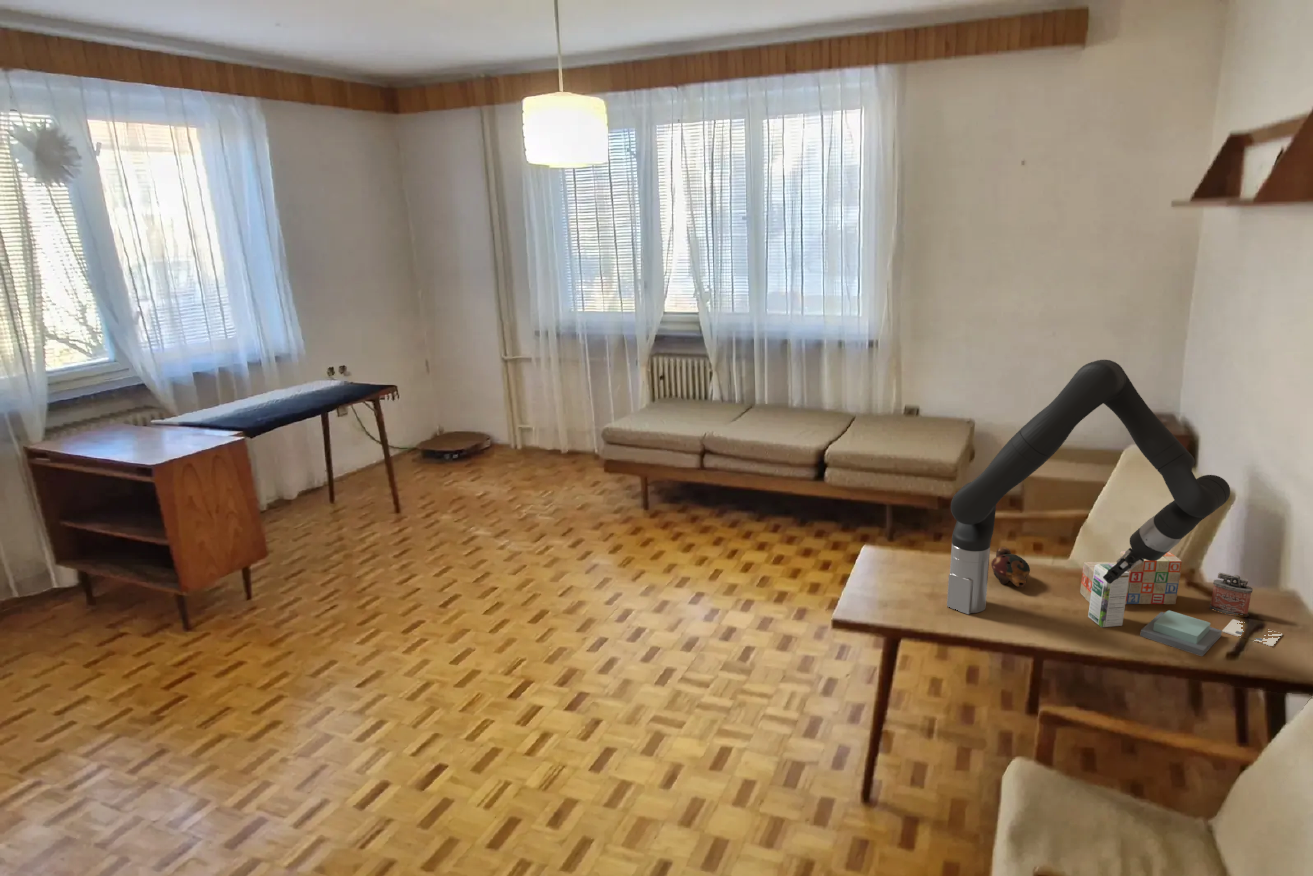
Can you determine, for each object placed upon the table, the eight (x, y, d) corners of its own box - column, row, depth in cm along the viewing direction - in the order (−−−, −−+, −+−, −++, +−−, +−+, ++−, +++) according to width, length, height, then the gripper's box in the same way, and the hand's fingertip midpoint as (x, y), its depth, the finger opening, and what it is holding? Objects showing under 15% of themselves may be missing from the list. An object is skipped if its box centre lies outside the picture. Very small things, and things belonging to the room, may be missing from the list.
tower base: (1202, 656, 184) (1204, 642, 183) (1140, 635, 194) (1141, 622, 193) (1221, 636, 192) (1223, 623, 191) (1160, 617, 202) (1162, 604, 201)
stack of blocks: (1089, 604, 210) (1094, 560, 206) (1079, 593, 216) (1084, 550, 212) (1176, 604, 208) (1182, 560, 204) (1163, 593, 214) (1169, 550, 210)
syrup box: (1086, 616, 203) (1093, 564, 199) (1109, 615, 204) (1115, 562, 200) (1100, 628, 198) (1107, 573, 194) (1123, 626, 198) (1130, 572, 194)
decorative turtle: (1011, 568, 232) (1016, 543, 229) (1039, 595, 217) (1044, 569, 215) (978, 569, 231) (983, 543, 228) (1004, 596, 217) (1009, 569, 214)
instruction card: (1272, 647, 186) (1272, 645, 186) (1222, 631, 194) (1222, 630, 194) (1282, 634, 191) (1282, 633, 191) (1232, 620, 199) (1232, 618, 199)
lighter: (1249, 614, 201) (1255, 577, 199) (1246, 619, 199) (1253, 582, 196) (1210, 604, 207) (1216, 569, 204) (1208, 609, 204) (1213, 573, 202)
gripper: (1159, 511, 188) (1119, 547, 200) (1125, 538, 181) (1087, 574, 194) (1187, 535, 184) (1145, 570, 197) (1154, 563, 178) (1113, 598, 191)
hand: (1116, 572), depth 195 cm, fingers open, 8 cm apart
